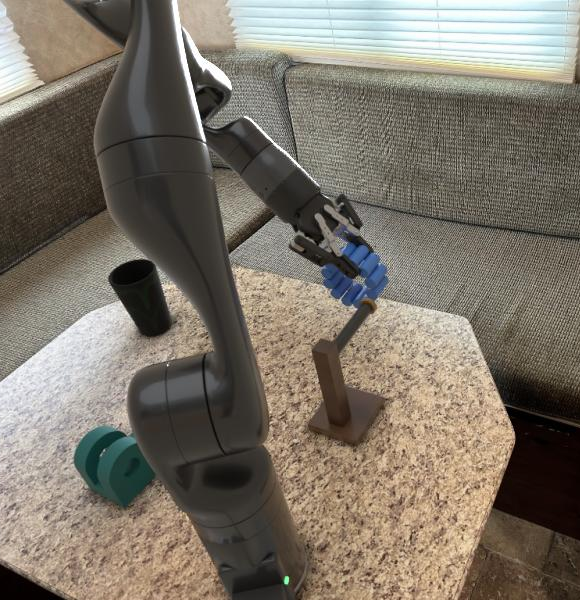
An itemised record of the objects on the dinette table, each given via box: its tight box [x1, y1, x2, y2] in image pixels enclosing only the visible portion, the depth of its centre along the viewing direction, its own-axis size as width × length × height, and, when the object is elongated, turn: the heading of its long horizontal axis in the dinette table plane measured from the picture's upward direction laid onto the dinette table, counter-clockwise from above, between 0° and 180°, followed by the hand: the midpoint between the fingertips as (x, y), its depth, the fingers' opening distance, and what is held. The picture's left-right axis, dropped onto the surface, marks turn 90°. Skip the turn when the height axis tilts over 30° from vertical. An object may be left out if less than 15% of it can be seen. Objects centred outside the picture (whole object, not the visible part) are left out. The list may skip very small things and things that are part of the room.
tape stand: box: [307, 298, 386, 447], centre depth 85 cm, size 14×8×16 cm, turn 154°
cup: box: [107, 258, 173, 338], centre depth 104 cm, size 8×8×12 cm
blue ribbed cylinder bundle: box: [320, 243, 390, 309], centre depth 93 cm, size 4×9×9 cm, turn 65°
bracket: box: [73, 425, 157, 509], centre depth 84 cm, size 18×7×8 cm, turn 152°
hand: (364, 266), depth 90 cm, fingers closed on blue ribbed cylinder bundle, 4 cm apart
